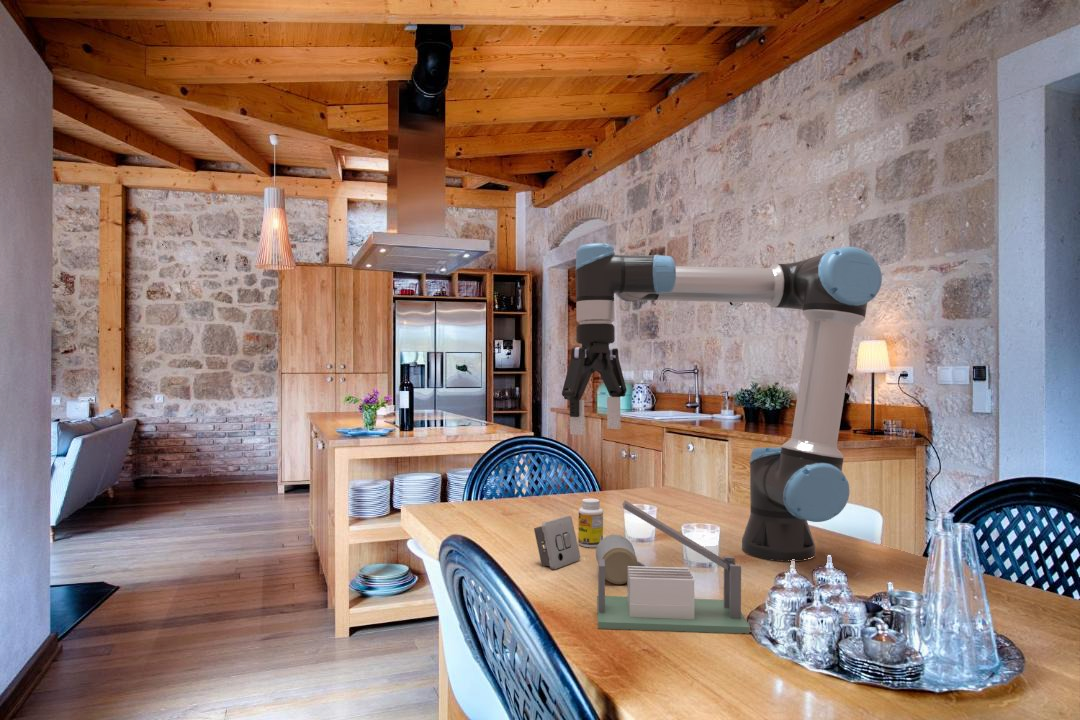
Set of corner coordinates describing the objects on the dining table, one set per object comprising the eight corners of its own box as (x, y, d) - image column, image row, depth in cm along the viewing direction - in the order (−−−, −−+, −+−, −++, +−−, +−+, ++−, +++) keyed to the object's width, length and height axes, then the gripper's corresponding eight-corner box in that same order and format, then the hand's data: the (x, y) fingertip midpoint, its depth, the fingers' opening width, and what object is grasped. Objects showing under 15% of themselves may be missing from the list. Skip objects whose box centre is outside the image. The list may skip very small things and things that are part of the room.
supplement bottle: (574, 543, 154) (574, 498, 154) (595, 541, 156) (596, 496, 156) (585, 549, 149) (585, 503, 149) (607, 546, 151) (607, 501, 151)
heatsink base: (733, 605, 114) (733, 551, 114) (750, 633, 102) (750, 572, 102) (597, 601, 115) (597, 547, 115) (598, 628, 103) (598, 568, 104)
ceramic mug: (599, 586, 124) (600, 544, 124) (595, 572, 132) (596, 533, 132) (656, 587, 124) (657, 545, 124) (649, 574, 132) (650, 534, 132)
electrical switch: (553, 571, 133) (550, 523, 133) (533, 568, 136) (530, 522, 137) (581, 561, 140) (578, 515, 141) (561, 558, 143) (558, 514, 144)
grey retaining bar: (732, 572, 109) (737, 564, 109) (736, 578, 106) (741, 569, 106) (621, 506, 111) (626, 498, 111) (622, 510, 108) (627, 501, 108)
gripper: (611, 327, 145) (612, 425, 144) (542, 321, 125) (543, 435, 124) (642, 325, 140) (643, 427, 140) (576, 319, 120) (577, 438, 120)
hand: (596, 431), depth 132 cm, fingers open, 13 cm apart
